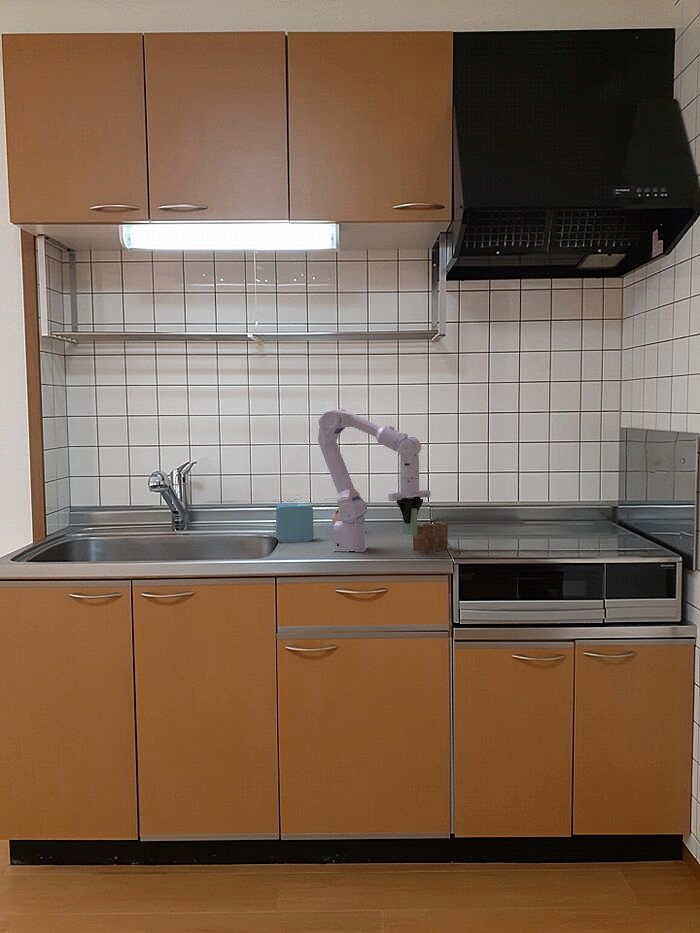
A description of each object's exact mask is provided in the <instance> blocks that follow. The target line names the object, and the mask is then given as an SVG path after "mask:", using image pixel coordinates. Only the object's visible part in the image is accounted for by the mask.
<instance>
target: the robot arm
mask: <svg viewBox="0 0 700 933" xmlns="http://www.w3.org/2000/svg"><path fill="white" fill-rule="evenodd" d="M317 423H318V436H317V437H318V438H317V443H318V445H319V447H320V451H321V453H322V455H323V458H324V461H325V463H326V467H327V468H328V471H329V474H330V477H331V479H332V482H333V485H334V487H335V489H336V492H337V500H336V503H337V506H338V508H339V516H340V518H341V520H342V521H336V522H335V525H334V524H333V525H334V526H333V551H334V552H349V551H355V552H356V553H364V552H365V551H366V550H367V549H368V548H369V546H368V545H366V523H365V522H366V521H365V520H366V519H365V516H366V514H367V512H368V505H367V502H366V501H365V500H364V499H363V498H362V496H361V495H360V492H358V490H357V489H356V488H355V487H354V485H353V484H354V483H353V481H352V479H351V477H350V474H349V472H348V469H347V467H346V463H345V460H344V458H343V456H342V452H341V450H340V448H339V445H338V443H337V441H338V438H339V436H340V435H341V433H342V432H343V431H344V430H345V429H346V428H355V429H356V430H357V429H358V430H359V431H361V432H364V433H365V434H368V435H370V436H372V437H375V438H376V440H377V443H378V444H380V445H382V446H384V447H386V448H388V449H390V450H391V451H394V452H396V453H397V454H398V455H399V456H400V457H399V458H400V459H399V460H400V461H399V462H400V463H399V485H400V486H399V489H400V491H399V492H394V493H393V492H392V493H388V501H389V502H395V501H396V504H397V506H398V508H399V509H400V512H401V515H402V520H403V519H404V523H407V524H410V519H411V508H416V509H417V516H418V515H419V512H420V509H421V507H422V504H423V503H424V499H423V498H431V490H427V489H426V490H424V489H423V490H420V455H419V453H421V450H422V444H421V442H420V440H419V439H417V438H416V437H415V436H410V437H409V434H408V433H402V432H400V431H398V430H396V429H395V427H394V426H392V425H389V426H388V425H385V426H382V427H380V426H378V425H377V424H375V423H372V422H371V421H369V420H367V419H366V418H364V417H362V416H360V415H358V414H357V413H354V412H353V411H349V410H346V409H344V408H336V409H335V408H334V409H331V408H330V409H329V408H328V409H325V410H324V411H323V412H322V413H321V415H320V417H319V418H318V421H317Z"/></svg>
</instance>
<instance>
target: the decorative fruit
mask: <svg viewBox="0 0 700 933" xmlns="http://www.w3.org/2000/svg"><path fill="white" fill-rule="evenodd" d="M331 521H332V523H333V525H335V522H336V521H342V520H341V518H340V516H339V507H337V508H336V509H335V510H334V512H333V513H332V516H331Z"/></svg>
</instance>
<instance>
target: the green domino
mask: <svg viewBox="0 0 700 933" xmlns="http://www.w3.org/2000/svg"><path fill="white" fill-rule="evenodd" d="M417 525H418V515H417V509H416V508H411V519H410V524H407V523H404V519H403V518H402V534H404V535H408V536H412V537H413V536H415V535H417Z"/></svg>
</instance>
